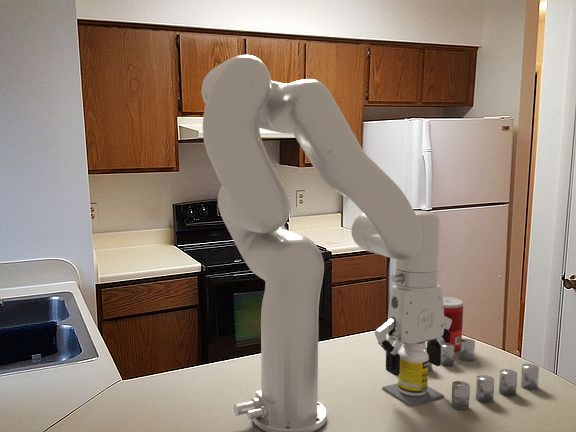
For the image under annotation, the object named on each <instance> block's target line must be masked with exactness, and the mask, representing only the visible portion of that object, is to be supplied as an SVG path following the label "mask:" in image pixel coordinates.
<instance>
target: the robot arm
mask: <svg viewBox="0 0 576 432" xmlns="http://www.w3.org/2000/svg"><path fill="white" fill-rule="evenodd" d="M271 77H272V76H271V73H270V71H269V68H268V67H267V65H266V64H265V63H264V62H263V61H262V60H261V59H260V58H258V57H256V56H254V55H250V54H241V55H237V56H233V57H230V58H229V59H227V60H225V61H224V62H222V63H220V64H219V65H217V66H215V67H214V68H213V69H211V70H210V71H208V73H207V74H206V75H205V77H204V79H203V81H202V84H201V97H202V101H203V103H204V104H205V107H204V111H203V118H202V137H203V143H204V147H205V149H206V153H207V156H208V158H209V161H210V162H211V165H212V167H213V169H214V171H215V174H216V176H217V178H218V181H219V183H220V185H221V186H220V189H219V191H218V196H217V207H218V210H219V211H218V212H219V213H220V217H221V218H222V220H223V222H224V224H225V226H226V229H227V230H228V232H229V234H230V236H231V238H232V241H233V242H234V243H235V246H236V248H237V250H238V251H239V254H240V255H241V257H242V259H243V261H244V263H245V264H246V266H247V267H248V268H249V270H250V271H251V272H252V273H253V274H255V276H257V277H258V278H260V279H262V280H263V281H264V282H265V285H264V293H263V297H262V303H261V312H260V313H261V314H260V331H261V333H260V337H261V338H260V343H261V344H260V345H261V346H260V347H261V349H260V352H261V353H260V354H261V356H260V358H261V359H260V361H261V364H260V365H261V366H260V369H261V370H260V371H261V374H260V377H261V378H260V379H261V381H260V383H261V384H260V385H261V389H260V390H256V391H255V397H252V398H251V399H250V401H242V402H237V403H234V404H233V413H234V415H235V416H237V417H238V416H243V415H246V416H247V417H246V418H247V419H248V420H252V421H253V423H254V425H255V426H256V427H258V428H259V429H261V430H262V431H265V432H315V431H317V430H319V429H320V428H322V427H323V426H324V425H325V424H326V422H327V419H328V418H327V417H328V416H327V415H328V413H327V412H328V411H327V408H326V407H325V406H324V405H323V403H321V402H320V401H318V399H319V398H318V397H319V394H318V393H319V392H318V391H319V390H318V389H319V387H318V385H319V383H318V382H319V371H318V370H319V308H320V299H321V298H320V297H321V291H322V286H323V279H324V273H325V263H324V262H325V261H324V258H323V254H322V252H321V250H320V248H319V247H318V245H317V244H316V243H315V242H314V241H313V240H311V239H310V238H309V237H307V236H306V235H303V234H300V233H298V232H295V231H292V230H288V229H287V228H286V226H285V225H286V223H287V221H288V220H289V219H290V218H289V217H290V213H291V202H290V200H289V199H290V198H289V195H288V193H287V191H286V189H285V186H284V185H283V183H282V181H281V179H280V177H279V175H278V173H277V171H276V169H275V167H274V165H273V163H272V160H271V159H270V157H269V155H268V153H267V150H266V147H265V145H264V143H263V140H262V136H261V133H260V132H261V131H260V129H261V130H266V131H269V132H270V131H271V132H274V133H275V132H276V133H280V134H288V135H289V134H292V135H293V136H294V138H295V139H296V141H297V143H298V144H299V145H300V147H301V149H302V150H303V152H304V154H305V155H306V157H307V158H308V160H309V163H311V165H312V167H313V168H314V170H315V172H316V174H317V175H318V177H319V178H320V180H321V181H322V182H324V183H325V184H326V185H327V186H329V187H330V188H331V189H332V190H334V191H335V192H337V193H338V194H339V195H341V196H344V198H346V199H348V200H349V201H350V202H352V203H353V204H354V205H355V206H356V207H357V208H358V209H359V210H360V211H361V212H362V213H361V214H359V215H358V216H357V217H356V218H355V219H354V221H353V222H352V225H351V238H352V239H353V241H354V243H355V244H356V245H357V246H358V247H359V248H361V249H363V250H365V251H366V252H370V253H373V254H376V255H380V256H384V257H387V258H389V259H393V260H395V270H394V271H395V274H393V275H392V276H391V281H392V283H394V285H392V288H391V292H390V297H389V304H388V310H387V311H388V312H387V313H388V314H387V321H386V322H384V323H383V324H382V325H381V326H379V327H378V328H377V329H375V331H374V335H375V337H376V339H377V341H378V342H377V343H378V345H380V347H381V348H382V349H383V350H384V352H385V371H386V372H388V373H389V374H392V375H393V376H395V377H398V375H399V374H400V355H399V354H397V353H398V352H400V349H401V348H402V347H403V346H404V345H403V344H406V345H409V344H415V343H420V342H425V341H426V348H427V354H428V356H429V363H431V364H432V366H433V365H434V366H436V367H440V366H442V365H441V345H443V344H444V339H445V337H446V336H447V335H448V332H449V331H448V329H449V328H450V326H451V323H452V319H450V318H448V317H446V316H444V306H443V297H442V296H443V292H442V287H441V285H440V284H439V283H438V275H439V274H438V273H439V269H438V267H439V248H440V247H439V246H440V245H439V242H440V218H439V216H438V214H436V213H435V212H432V211H429V210H428V211H427V210H414V208H413V206H412V204H411V203H410V201H409V199H408V198H407V196H406V194H405V193H404V192H403V191H402V189H401V188H400V186H398V184H397V183H395V181H394V180H393V179H392V178H391V177H390V176H389V175H388V174H387V173H386V172H385V171H384V170H383V169H382V168H381V167H380V166H379V165H378V164H377V163H376V162H375V161H373V159H371V158H370V157H369V156H368V154H367V153H366V152H365V151H364V149H363V148H362V146H361V144H360V143H359V141H358V139H357V137H356V136H355V133H354V131H352V128H351V126H350V125H349V123H348V122H347V121H348V120H347V119H346V117H345V116H344V114H343V112H342V111H341V109H340V106H339V105H338V103H337V102H336V100H335V98H334V96H333V95H332V92H330V90H329V88H328V87H327V86H326V85H325V84H324V83H322V82H321V81H320V80H318V79H313V78H312V79H311V78H307V79H306V78H305V79H300V80H296V81H292V82H289V83H284V82H283V83H282V82H278V81H275V80H274V81H273V80H272V78H271ZM387 336H388V338H387Z"/></svg>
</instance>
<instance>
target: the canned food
mask: <svg viewBox="0 0 576 432" xmlns="http://www.w3.org/2000/svg"><path fill="white" fill-rule="evenodd" d="M442 297H443V306H444V316H446V317H448V318H450V319H452V323H451V326H450V328H449V329H448V331H449V332H448V335H447V336H446V337H445V339H444V343H450V344H453V345H454V353H455V352H458V351H460V340H461V339H463V320H464V317H463V316H464V301H463V300H462V299H459V298H457V297H453V296H444V295H442Z"/></svg>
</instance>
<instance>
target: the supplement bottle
mask: <svg viewBox="0 0 576 432" xmlns="http://www.w3.org/2000/svg"><path fill="white" fill-rule="evenodd" d="M402 347H403V348H402V349H401V350H399V352H400V353H399V355H400V374H399V375H398V376H397V383H398V390H399V391H400V392H401V393H403V394H406V395H410V396H422V395H424V394H426V392H427V386H428V383H429V371H428V365H429V356H428V354H427V352H426V351H424V350H425V348H427V341H425V342H420V343H415V344H409V345H406V344H403V345H402Z"/></svg>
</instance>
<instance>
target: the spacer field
mask: <svg viewBox="0 0 576 432" xmlns="http://www.w3.org/2000/svg"><path fill="white" fill-rule="evenodd" d="M475 346H476V341H475V340H473V339H470V338H462V339H461V340H460V349H459V359H460V360H461V361H465V362H473V361H475V348H476V347H475ZM424 351H426V352H427V347H425V350H424ZM399 353H400V351H398V353H397V354H399ZM454 360H455V352H454V345H453V344H450V343H444V344H443V345H441V365H440V366H445V367H452V366H454V365H455V364H454V363H455V361H454ZM432 370H433V364H431V363H429V365H428V372H431V371H432ZM539 374H540V367H539V366H538V365H537V364H533V363H522V364H521V376H520V387H521V388H523V389H526V390H529V391H535V390H538V389H539V376H540V375H539ZM475 384H476V386H475V399H476V401H478V402H480V403H483V404H491V403H493V402H494V391H495V378H494V377H493V376H490V375H488V374H487V375H485V374H480V375H479V374H478V375H477V376H476V383H475ZM517 385H518V371H515V370H513V369H507V368H503V369H500V370H499V384H498V386H499V387H498V392H499V394H500V395H502V396H505V397H515V396H516V395H517V389H518V388H517ZM470 392H471V385H470V383H468V382H466V381H463V380H456V381H453V382H452V384H451V402H450V403H451V404H450V405H451V407H452V409H453V408H454V409H455V410H458V411H467V410H469V409H470Z"/></svg>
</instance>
